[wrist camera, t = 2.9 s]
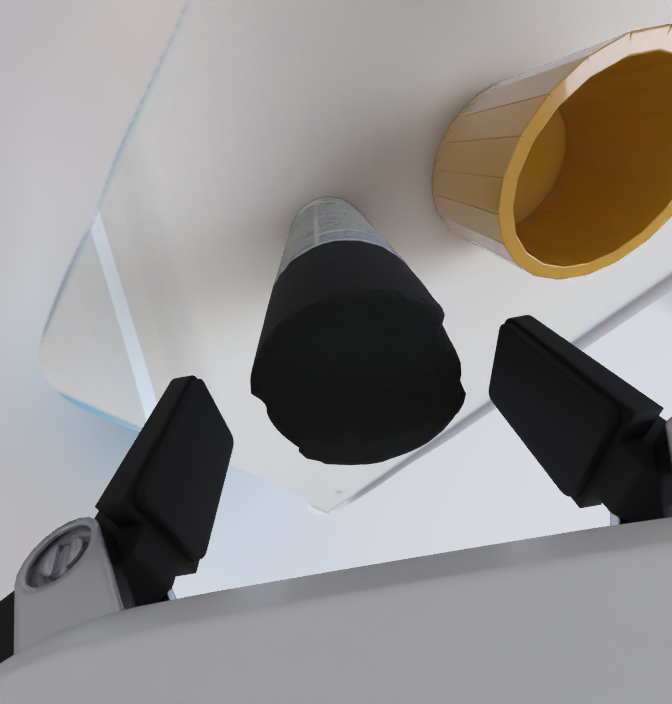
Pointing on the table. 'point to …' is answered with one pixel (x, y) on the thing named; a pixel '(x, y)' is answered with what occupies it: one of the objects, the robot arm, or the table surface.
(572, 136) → the mug
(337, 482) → the table surface
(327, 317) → the spray can
